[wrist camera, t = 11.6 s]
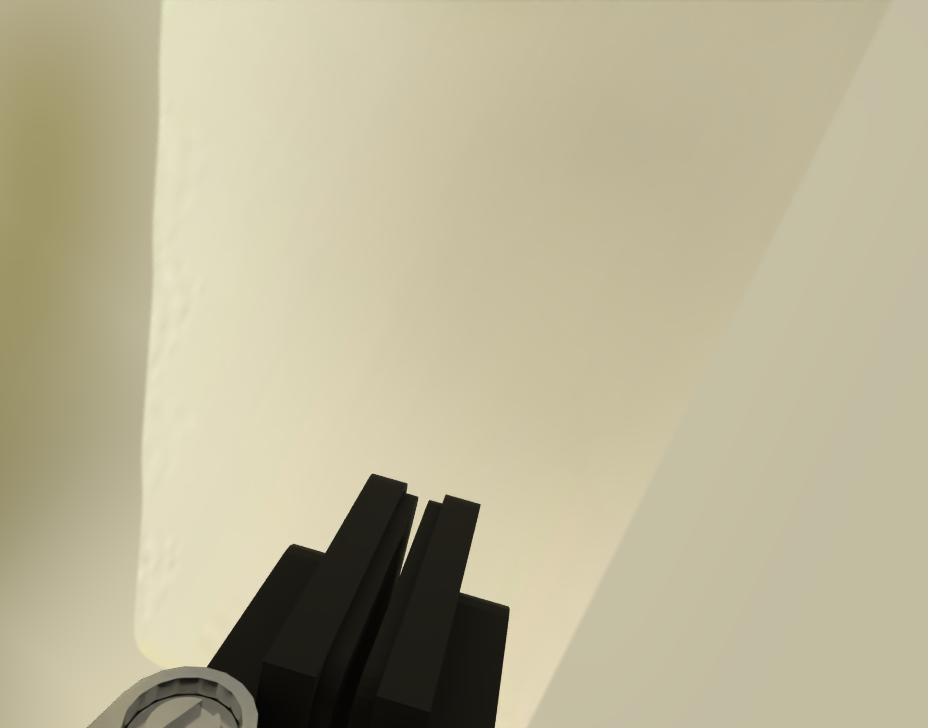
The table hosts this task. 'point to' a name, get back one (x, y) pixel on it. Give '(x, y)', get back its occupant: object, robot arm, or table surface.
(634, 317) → the table surface
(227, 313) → the table surface
